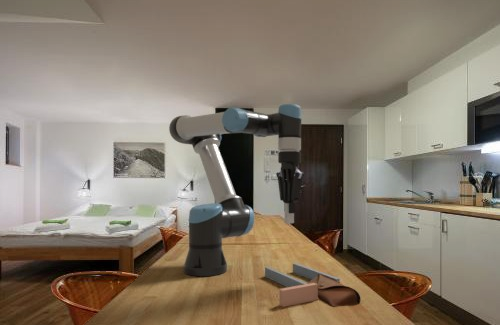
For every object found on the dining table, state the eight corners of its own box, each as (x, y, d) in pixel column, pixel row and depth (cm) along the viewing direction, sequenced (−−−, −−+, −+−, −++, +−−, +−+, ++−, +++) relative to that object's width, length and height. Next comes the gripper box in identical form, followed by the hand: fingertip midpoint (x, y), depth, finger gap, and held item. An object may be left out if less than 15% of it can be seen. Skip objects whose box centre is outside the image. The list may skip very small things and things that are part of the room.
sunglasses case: (296, 287, 100) (305, 266, 101) (313, 296, 102) (322, 276, 104) (334, 307, 83) (345, 282, 85) (354, 318, 85) (364, 293, 87)
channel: (305, 295, 92) (305, 284, 92) (264, 276, 112) (264, 267, 112) (339, 289, 98) (339, 278, 98) (295, 271, 117) (295, 263, 118)
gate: (282, 307, 84) (282, 290, 84) (279, 305, 85) (279, 288, 86) (317, 299, 89) (317, 284, 89) (314, 298, 90) (313, 282, 91)
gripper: (311, 150, 107) (310, 225, 106) (288, 153, 119) (287, 220, 118) (291, 149, 104) (291, 226, 103) (269, 152, 116) (269, 221, 114)
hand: (289, 223), depth 110 cm, fingers closed
